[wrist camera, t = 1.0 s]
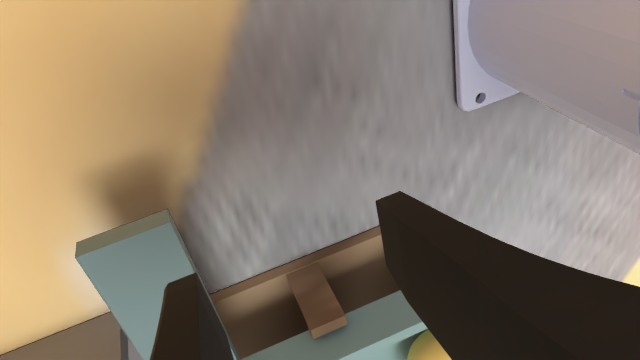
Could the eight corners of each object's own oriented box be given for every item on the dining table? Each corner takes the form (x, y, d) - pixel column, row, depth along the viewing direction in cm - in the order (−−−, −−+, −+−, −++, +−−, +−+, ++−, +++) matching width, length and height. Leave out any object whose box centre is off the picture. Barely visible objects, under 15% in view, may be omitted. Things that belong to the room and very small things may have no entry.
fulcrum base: (429, 206, 25) (477, 256, 22) (437, 307, 30) (479, 361, 27) (150, 318, 23) (157, 395, 19) (206, 410, 27) (220, 485, 24)
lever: (455, 102, 18) (488, 124, 17) (465, 341, 27) (488, 371, 25) (76, 242, 16) (72, 283, 14) (217, 457, 24) (224, 498, 23)
